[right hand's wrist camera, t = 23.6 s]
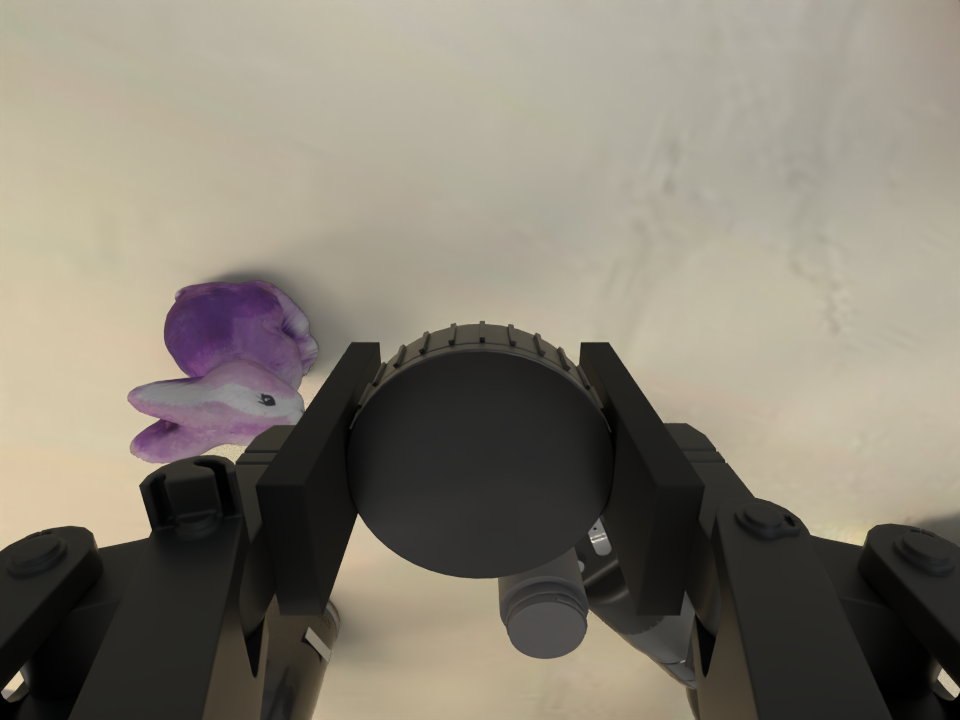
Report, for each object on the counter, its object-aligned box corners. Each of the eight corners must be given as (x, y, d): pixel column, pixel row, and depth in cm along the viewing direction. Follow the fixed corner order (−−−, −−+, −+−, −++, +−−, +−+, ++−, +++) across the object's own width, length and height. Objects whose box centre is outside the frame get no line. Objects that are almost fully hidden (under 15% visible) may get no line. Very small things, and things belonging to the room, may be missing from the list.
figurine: (345, 375, 42) (280, 485, 28) (224, 392, 43) (102, 509, 29) (314, 260, 39) (221, 322, 25) (182, 281, 39) (20, 352, 25)
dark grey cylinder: (535, 470, 46) (571, 673, 28) (484, 454, 45) (487, 652, 27) (556, 424, 44) (608, 610, 26) (503, 408, 44) (520, 586, 26)
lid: (603, 525, 13) (618, 572, 12) (379, 542, 13) (366, 590, 12) (601, 308, 11) (620, 333, 9) (336, 332, 11) (314, 360, 10)
